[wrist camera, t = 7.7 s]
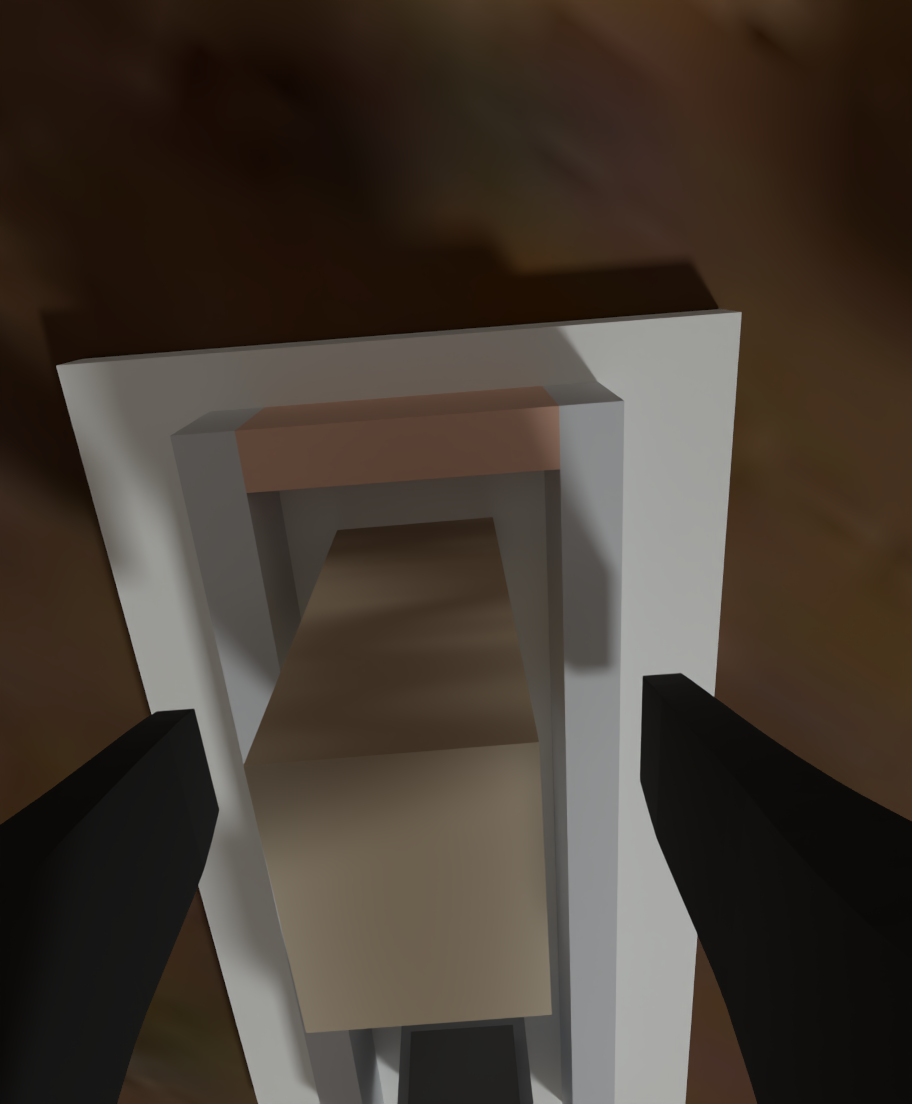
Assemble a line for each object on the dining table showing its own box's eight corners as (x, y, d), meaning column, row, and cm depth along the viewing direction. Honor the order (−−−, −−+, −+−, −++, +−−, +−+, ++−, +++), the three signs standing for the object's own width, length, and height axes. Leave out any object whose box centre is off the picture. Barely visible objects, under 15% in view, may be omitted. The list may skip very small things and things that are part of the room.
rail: (720, 309, 13) (1073, 360, 6) (673, 1078, 21) (796, 1509, 14) (82, 358, 13) (-364, 471, 6) (276, 1106, 22) (189, 1546, 14)
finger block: (492, 517, 14) (539, 742, 7) (505, 714, 15) (552, 1042, 9) (337, 530, 14) (242, 766, 7) (366, 725, 15) (313, 1060, 9)
